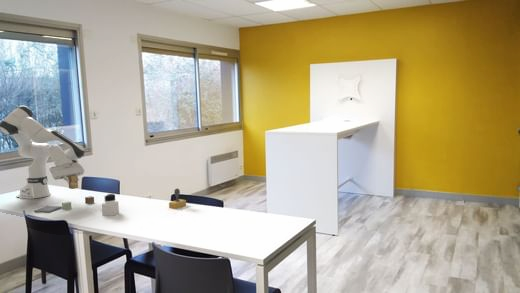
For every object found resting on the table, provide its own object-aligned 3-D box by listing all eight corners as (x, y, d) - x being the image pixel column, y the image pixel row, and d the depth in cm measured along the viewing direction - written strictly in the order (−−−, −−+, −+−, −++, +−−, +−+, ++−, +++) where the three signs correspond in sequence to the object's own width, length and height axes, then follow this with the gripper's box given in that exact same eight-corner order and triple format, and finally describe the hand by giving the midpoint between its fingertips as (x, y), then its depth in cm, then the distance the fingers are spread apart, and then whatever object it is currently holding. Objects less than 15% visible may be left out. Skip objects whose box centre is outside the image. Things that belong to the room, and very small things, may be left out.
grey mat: (34, 212, 248) (34, 210, 247) (47, 207, 258) (47, 205, 258) (49, 212, 245) (49, 211, 245) (61, 207, 256) (61, 206, 256)
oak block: (68, 188, 259) (67, 176, 258) (74, 187, 262) (73, 175, 261) (72, 189, 256) (71, 176, 255) (78, 187, 260) (77, 175, 259)
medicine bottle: (119, 212, 243) (117, 193, 242) (113, 215, 236) (112, 196, 235) (108, 212, 244) (106, 193, 242) (102, 215, 237) (100, 196, 235)
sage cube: (62, 208, 254) (61, 202, 254) (68, 207, 258) (67, 201, 257) (65, 209, 252) (65, 203, 252) (71, 208, 255) (71, 202, 255)
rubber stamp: (175, 209, 248) (174, 190, 246) (168, 208, 251) (167, 189, 249) (186, 205, 256) (185, 187, 255) (179, 204, 259) (178, 186, 258)
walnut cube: (85, 203, 267) (85, 197, 267) (90, 201, 271) (90, 196, 270) (88, 204, 265) (88, 198, 265) (94, 202, 268) (93, 196, 268)
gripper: (49, 164, 252) (59, 181, 248) (79, 160, 269) (89, 175, 265) (46, 170, 255) (56, 187, 251) (76, 166, 272) (85, 181, 268)
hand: (73, 181), depth 258 cm, fingers closed on oak block, 4 cm apart
